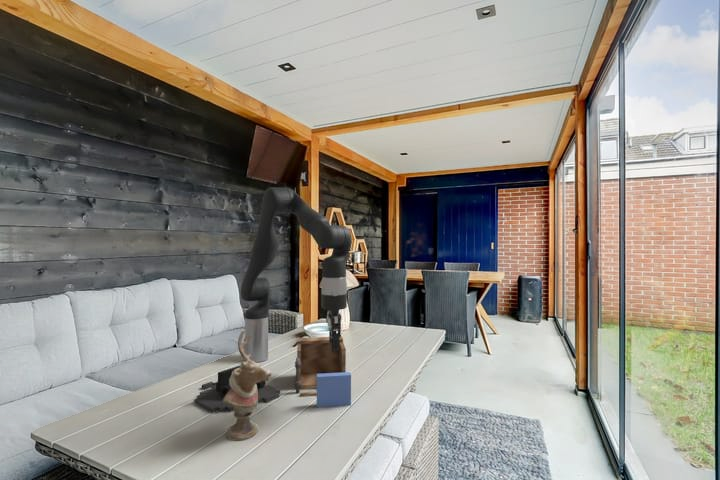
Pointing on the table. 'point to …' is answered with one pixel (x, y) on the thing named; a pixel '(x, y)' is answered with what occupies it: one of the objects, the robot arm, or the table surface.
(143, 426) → the table surface
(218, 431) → the table surface
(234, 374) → the decorative bust
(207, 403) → the abstract sculpture
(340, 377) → the blue rectangular block
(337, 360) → the cabinet
